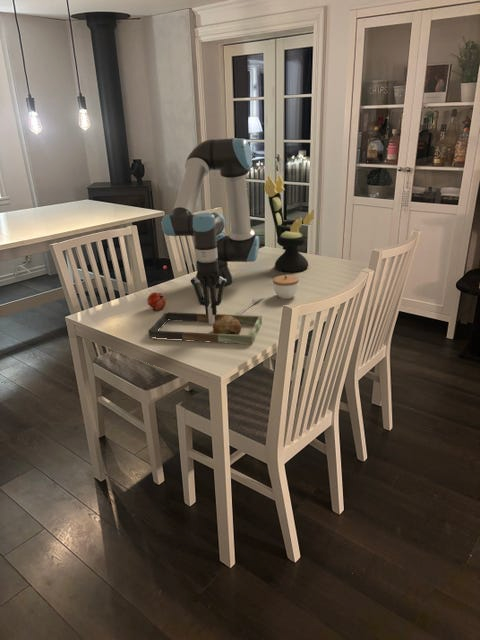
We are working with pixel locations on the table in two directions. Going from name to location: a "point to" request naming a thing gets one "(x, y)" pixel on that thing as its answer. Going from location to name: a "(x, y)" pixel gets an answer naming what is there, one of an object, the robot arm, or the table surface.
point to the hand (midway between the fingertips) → (212, 322)
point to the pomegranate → (156, 301)
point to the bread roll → (227, 325)
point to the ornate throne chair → (287, 230)
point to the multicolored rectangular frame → (206, 336)
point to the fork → (248, 306)
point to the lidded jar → (285, 286)
